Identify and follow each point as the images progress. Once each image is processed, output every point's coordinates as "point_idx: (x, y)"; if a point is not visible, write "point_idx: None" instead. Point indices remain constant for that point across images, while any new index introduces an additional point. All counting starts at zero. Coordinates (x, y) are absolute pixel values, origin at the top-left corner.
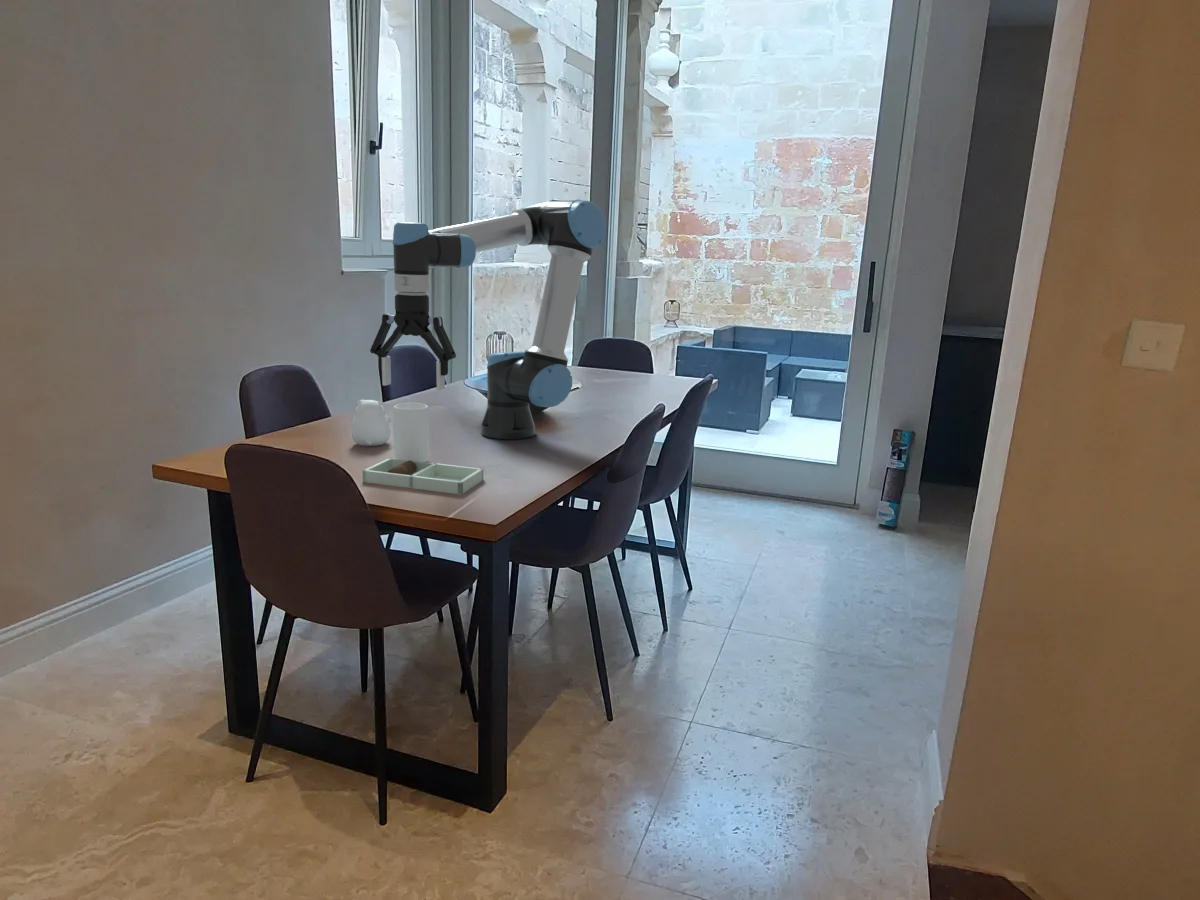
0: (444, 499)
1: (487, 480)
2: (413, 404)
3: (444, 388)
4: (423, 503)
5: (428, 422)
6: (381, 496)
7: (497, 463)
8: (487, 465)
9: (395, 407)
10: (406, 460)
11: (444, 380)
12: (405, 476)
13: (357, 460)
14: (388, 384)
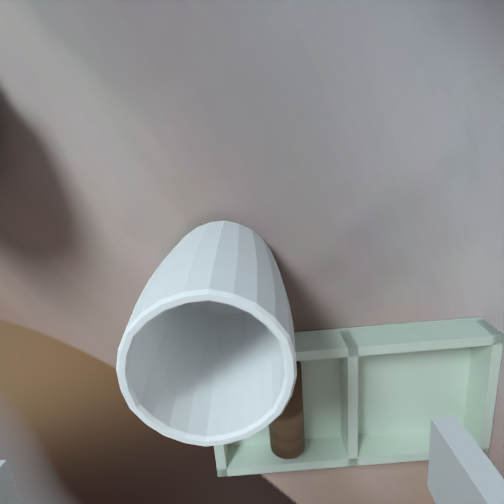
0: None
1: (486, 301)
2: (173, 307)
3: (455, 419)
4: (409, 489)
5: (291, 315)
6: (308, 491)
7: (461, 126)
8: (437, 165)
9: (161, 433)
10: None
11: (497, 474)
12: (337, 466)
13: (61, 301)
14: (18, 492)
